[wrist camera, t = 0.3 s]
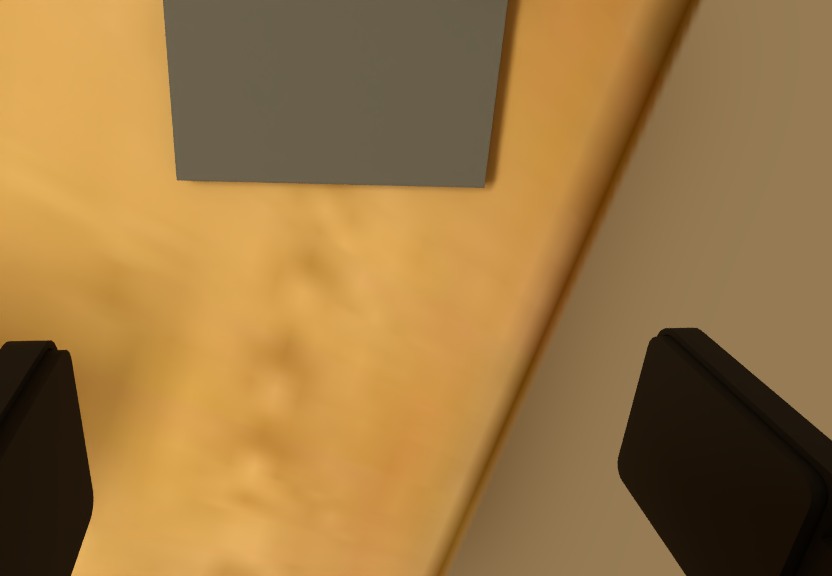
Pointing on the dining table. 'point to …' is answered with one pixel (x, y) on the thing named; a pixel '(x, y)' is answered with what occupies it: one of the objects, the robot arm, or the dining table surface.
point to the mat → (334, 90)
